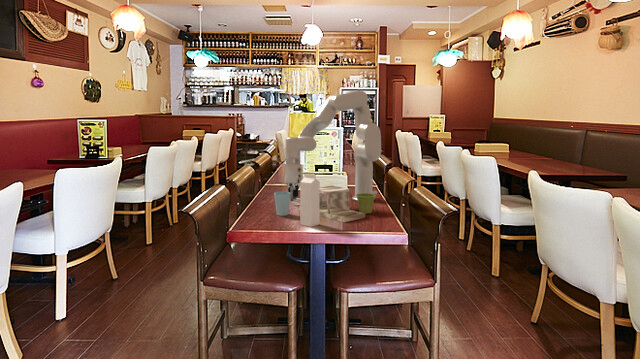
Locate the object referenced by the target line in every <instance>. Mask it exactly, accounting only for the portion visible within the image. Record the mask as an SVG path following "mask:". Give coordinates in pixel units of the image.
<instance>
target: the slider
mask: <svg viewBox="0 0 640 359" xmlns="http://www.w3.org/2000/svg"><path fill="white" fill-rule="evenodd" d="M293 189H294V187H293V185H290V193H291V194H290V202H294V203H298V204H300V199H298V198H297V197H293ZM327 205H328V200H322V201H320V202H319V207H323V206H327Z"/></svg>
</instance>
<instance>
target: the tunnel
mask: <svg viewBox="0 0 640 359" xmlns="http://www.w3.org/2000/svg"><path fill="white" fill-rule="evenodd" d="M350 191H351V190H350V188H347V187H341V186H336V185H328V186H322V187H321V186H320V194H324V195H327V206H323V207H319V217H321V218H326V219H329V220H334V221H337V222H342V223H347V222H351V221H356V220H360V219H365V218H366V214H365V213H362V212H359V211H356V210H353V209H352V210H351V209H350V200H351V199H350V198H351V196H350V194H351V192H350ZM297 211H298V212H300V205H299V206H297Z"/></svg>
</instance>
